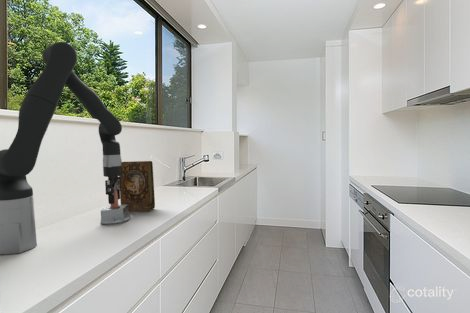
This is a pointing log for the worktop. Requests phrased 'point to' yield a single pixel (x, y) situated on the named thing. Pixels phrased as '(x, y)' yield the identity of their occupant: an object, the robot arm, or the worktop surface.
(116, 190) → the pin
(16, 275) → the worktop surface
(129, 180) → the book
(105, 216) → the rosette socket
